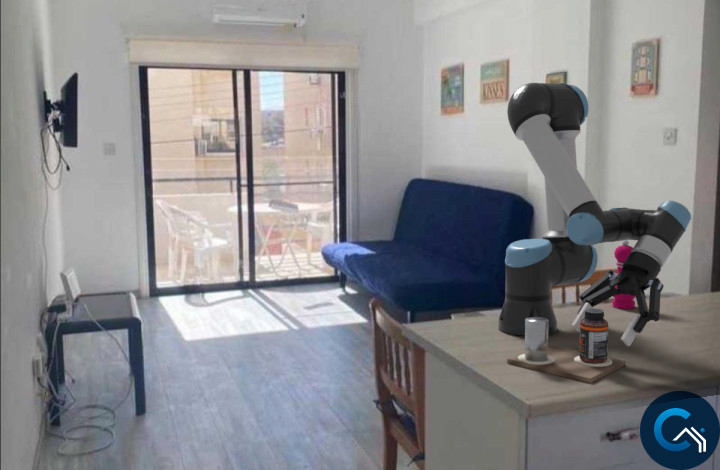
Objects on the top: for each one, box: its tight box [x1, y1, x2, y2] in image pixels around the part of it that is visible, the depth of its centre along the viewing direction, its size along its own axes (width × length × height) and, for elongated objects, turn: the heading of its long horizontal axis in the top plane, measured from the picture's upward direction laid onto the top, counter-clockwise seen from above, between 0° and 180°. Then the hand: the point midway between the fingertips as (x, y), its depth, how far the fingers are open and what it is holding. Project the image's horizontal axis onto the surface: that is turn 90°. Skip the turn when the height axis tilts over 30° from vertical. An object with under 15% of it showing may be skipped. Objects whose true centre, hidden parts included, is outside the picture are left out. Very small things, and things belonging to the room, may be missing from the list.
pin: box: [524, 317, 549, 362], centre depth 156 cm, size 5×5×9 cm
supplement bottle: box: [578, 307, 609, 364], centre depth 154 cm, size 6×6×11 cm
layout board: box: [506, 343, 626, 384], centre depth 156 cm, size 20×16×1 cm
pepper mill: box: [611, 240, 636, 310], centre depth 207 cm, size 7×7×20 cm
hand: (599, 335), depth 154 cm, fingers open, 13 cm apart
